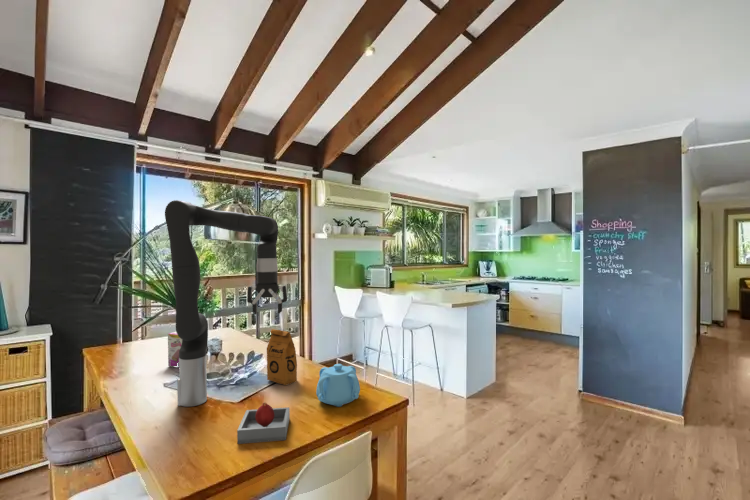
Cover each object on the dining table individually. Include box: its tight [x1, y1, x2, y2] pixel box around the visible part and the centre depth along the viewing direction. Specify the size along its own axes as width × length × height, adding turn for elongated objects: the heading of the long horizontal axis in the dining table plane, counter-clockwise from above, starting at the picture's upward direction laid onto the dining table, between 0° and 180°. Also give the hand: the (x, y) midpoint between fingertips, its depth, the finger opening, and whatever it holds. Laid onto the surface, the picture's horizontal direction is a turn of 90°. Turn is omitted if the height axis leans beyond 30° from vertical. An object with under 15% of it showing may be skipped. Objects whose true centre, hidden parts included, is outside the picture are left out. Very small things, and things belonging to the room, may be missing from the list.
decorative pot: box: [315, 363, 361, 408], centre depth 144 cm, size 16×16×14 cm
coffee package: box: [266, 328, 298, 386], centre depth 164 cm, size 10×12×22 cm
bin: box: [236, 406, 291, 445], centre depth 121 cm, size 14×14×4 cm
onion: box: [255, 401, 274, 427], centre depth 121 cm, size 6×6×8 cm
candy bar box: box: [167, 331, 182, 366], centre depth 185 cm, size 11×5×16 cm, turn 71°
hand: (267, 313), depth 143 cm, fingers open, 8 cm apart
